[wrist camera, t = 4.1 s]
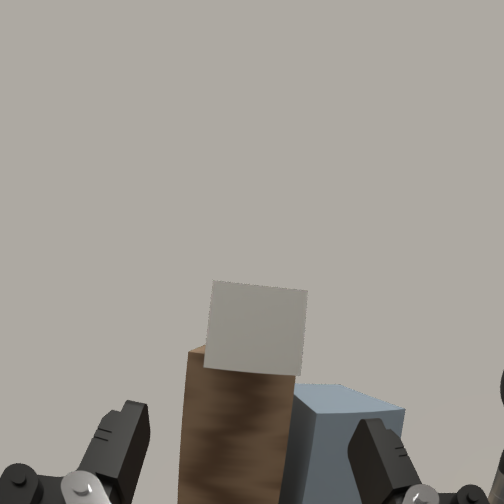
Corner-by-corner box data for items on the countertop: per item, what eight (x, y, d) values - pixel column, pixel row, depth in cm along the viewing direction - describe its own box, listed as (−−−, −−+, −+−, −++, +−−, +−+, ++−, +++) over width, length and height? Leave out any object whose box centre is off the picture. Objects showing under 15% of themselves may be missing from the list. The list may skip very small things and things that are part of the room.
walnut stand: (244, 546, 30) (268, 351, 39) (253, 619, 14) (297, 362, 22) (190, 541, 30) (205, 344, 38) (177, 613, 14) (188, 351, 22)
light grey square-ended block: (254, 350, 39) (257, 317, 40) (300, 375, 14) (308, 285, 15) (219, 346, 38) (223, 313, 40) (203, 367, 13) (213, 274, 14)
